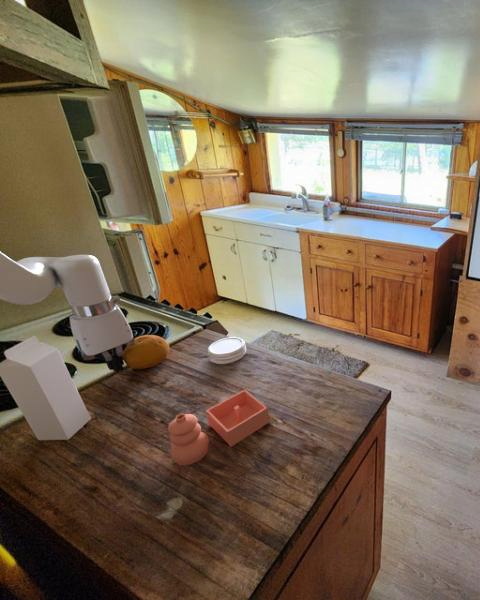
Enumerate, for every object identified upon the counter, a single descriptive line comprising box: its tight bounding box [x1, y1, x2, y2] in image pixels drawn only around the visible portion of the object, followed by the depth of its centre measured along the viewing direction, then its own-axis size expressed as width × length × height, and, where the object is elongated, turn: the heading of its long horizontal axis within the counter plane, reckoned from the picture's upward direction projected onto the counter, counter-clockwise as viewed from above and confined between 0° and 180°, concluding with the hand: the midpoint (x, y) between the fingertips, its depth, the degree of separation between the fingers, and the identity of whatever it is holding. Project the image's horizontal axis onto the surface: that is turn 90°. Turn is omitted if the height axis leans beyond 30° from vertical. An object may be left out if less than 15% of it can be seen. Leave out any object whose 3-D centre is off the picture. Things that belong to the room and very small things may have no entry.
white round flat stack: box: [207, 336, 247, 365], centre depth 96 cm, size 10×10×4 cm
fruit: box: [122, 334, 171, 370], centre depth 90 cm, size 10×10×8 cm
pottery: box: [167, 389, 271, 466], centre depth 68 cm, size 18×10×10 cm, turn 142°
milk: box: [0, 335, 92, 441], centre depth 66 cm, size 6×6×22 cm
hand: (117, 369), depth 85 cm, fingers closed
